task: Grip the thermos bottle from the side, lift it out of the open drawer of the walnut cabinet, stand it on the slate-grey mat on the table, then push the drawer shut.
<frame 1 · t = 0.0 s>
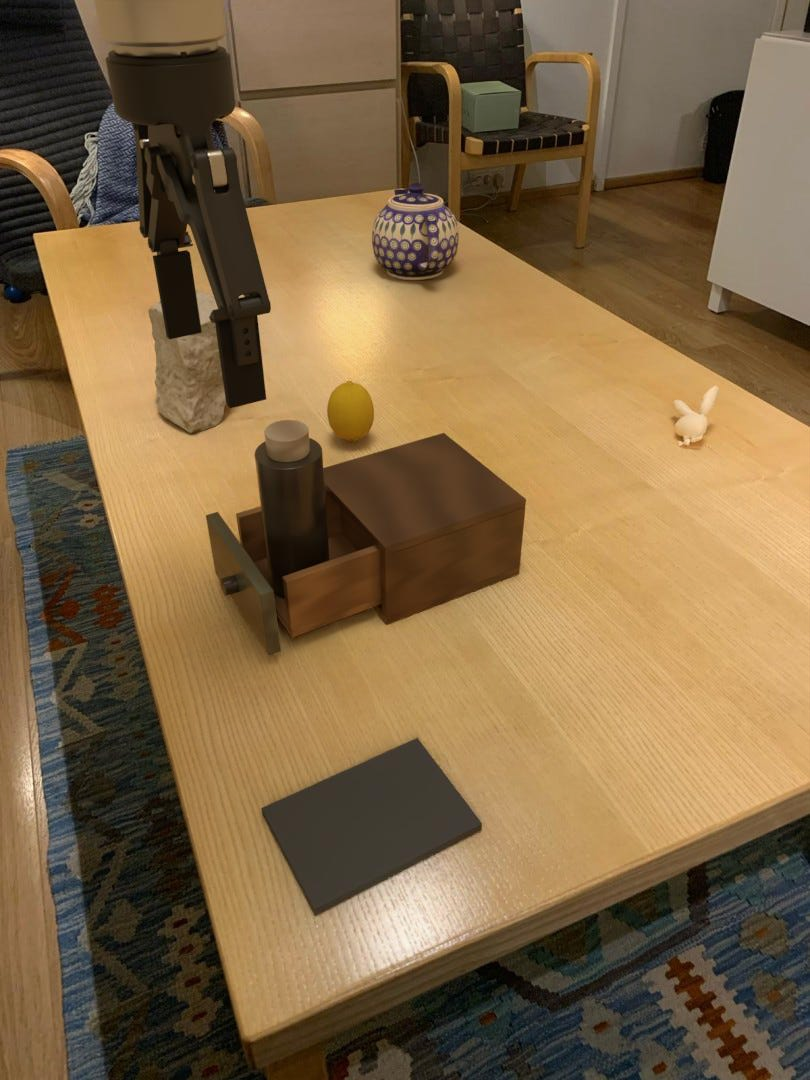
hand: (213, 366, 66), 25 cm above the table, tool pointing down, fingers open, 13 cm apart
trivet mat: (371, 822, 62), on the table
drawer: (299, 561, 80), point 4 cm above the table, slide at 10.0 cm, touching thermos bottle
lemon: (352, 443, 106), on the table
teapot: (415, 272, 155), on the table
rabbit figurine: (690, 434, 108), on the table
decorative stone: (195, 413, 113), on the table
thermos bottle: (300, 581, 81), point 2 cm above the table, touching drawer
cabinet: (416, 558, 87), on the table
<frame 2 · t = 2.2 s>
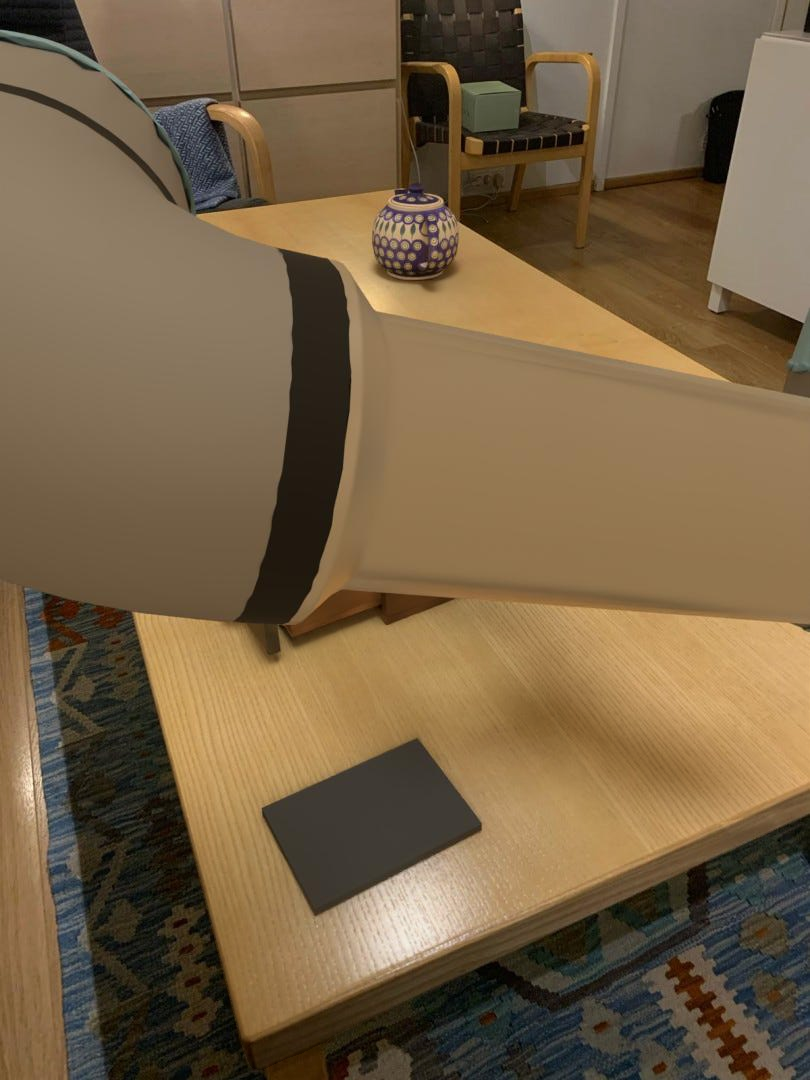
hand: (375, 416, 65), 22 cm above the table, tool horizontal, fingers open, 13 cm apart
nothing on the table moved.
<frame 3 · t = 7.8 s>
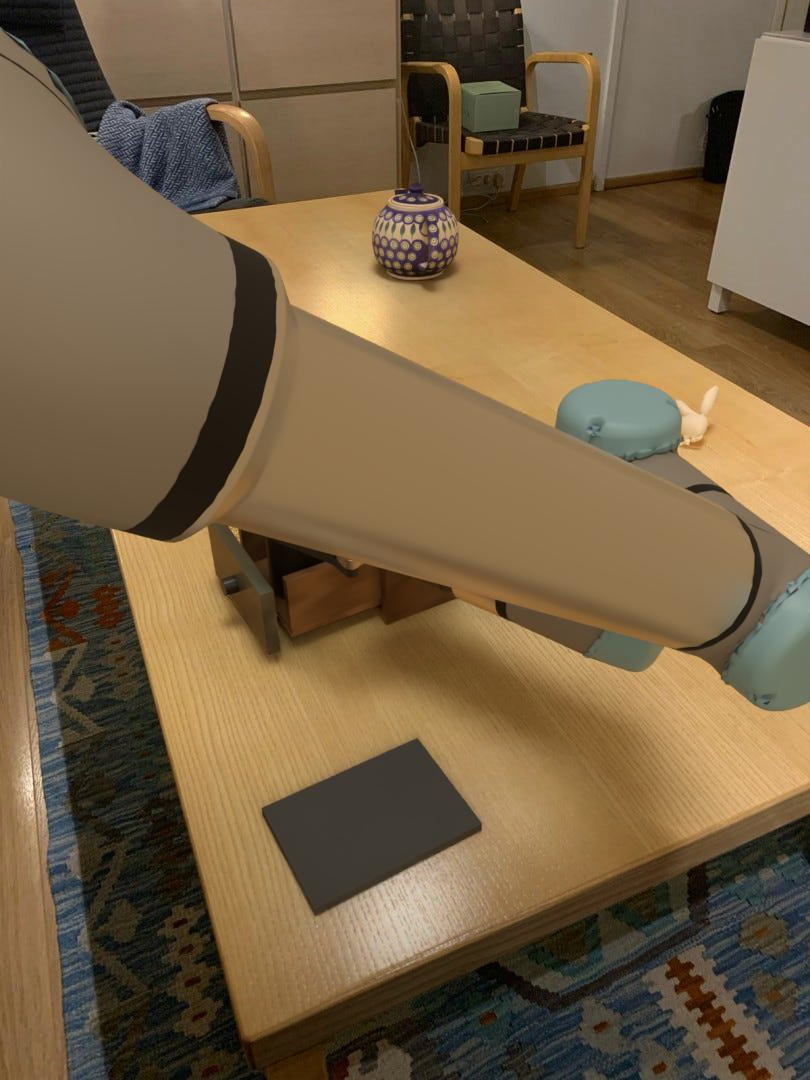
hand: (246, 459, 77), 14 cm above the table, tool horizontal, fingers closed on thermos bottle, 6 cm apart
thermos bottle: (300, 581, 81), point 2 cm above the table, touching drawer, gripper
everything else where it was.
when the fingers open (12 cm above the table, at t = 16.1 s): thermos bottle stays where it is, resting on trivet mat.
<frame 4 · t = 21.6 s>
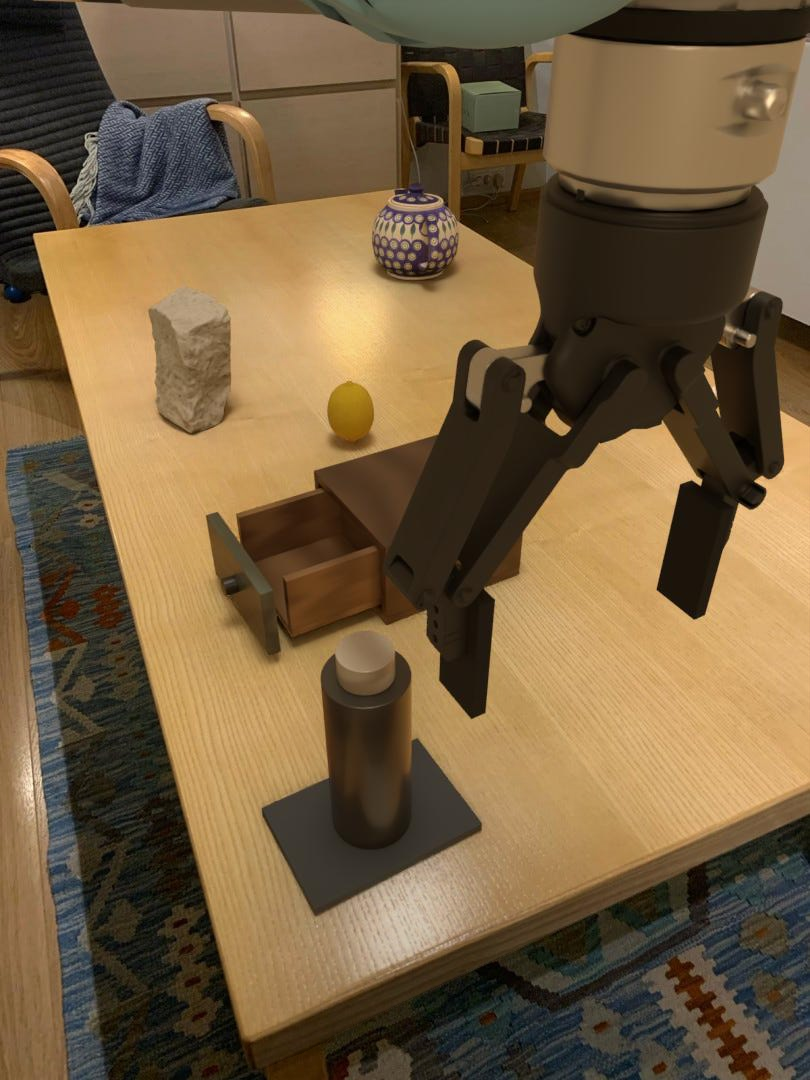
hand: (577, 647, 42), 24 cm above the table, tool pointing down, fingers open, 12 cm apart
drawer: (299, 561, 80), point 4 cm above the table, slide at 10.0 cm
thermos bottle: (371, 815, 62), point 1 cm above the table, touching trivet mat
everything else where it was.
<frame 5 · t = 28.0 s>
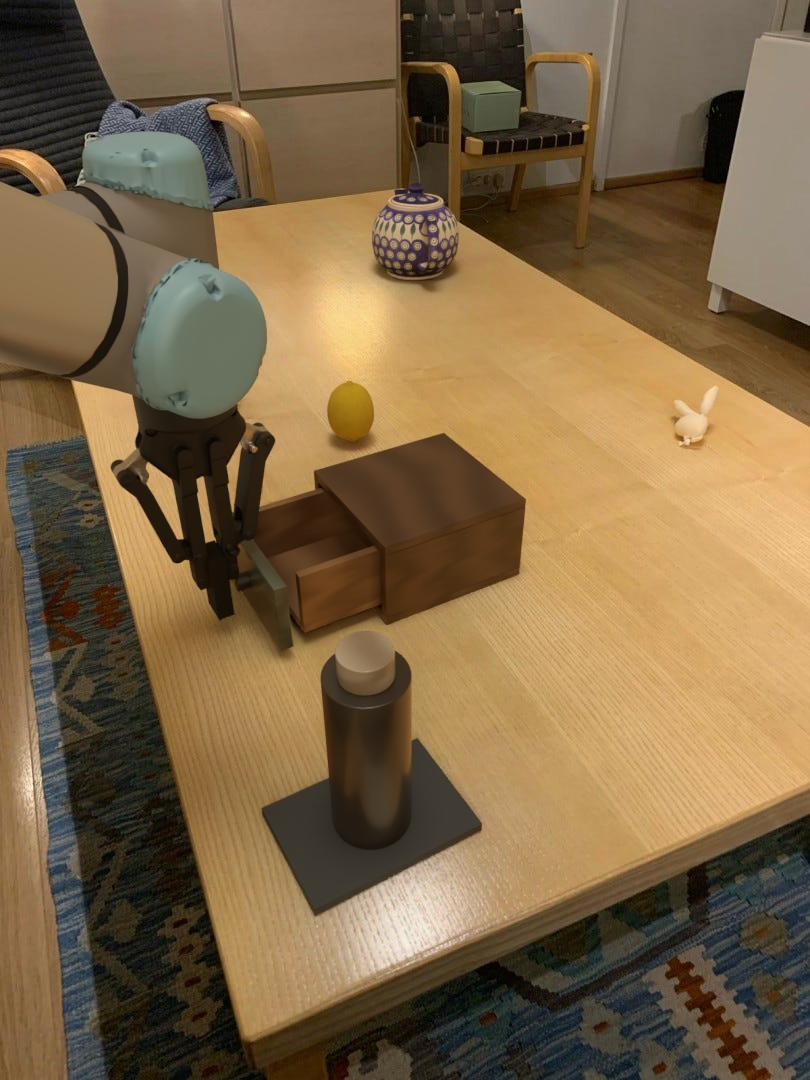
hand: (221, 608, 78), 2 cm above the table, tool pointing down, fingers closed
drawer: (311, 558, 80), point 4 cm above the table, slide at 8.8 cm, touching gripper
everything else where it was.
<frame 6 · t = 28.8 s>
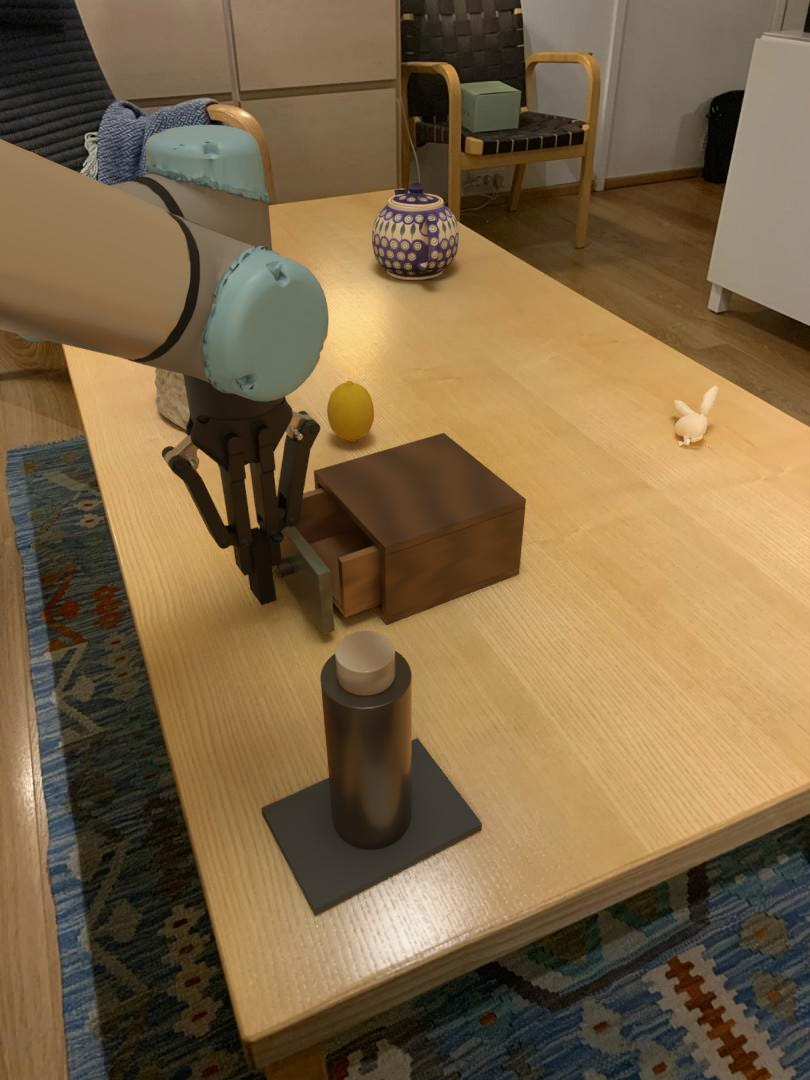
hand: (263, 594, 80), 2 cm above the table, tool pointing down, fingers closed
drawer: (350, 545, 82), point 4 cm above the table, slide at 4.8 cm, touching gripper
everything else where it was.
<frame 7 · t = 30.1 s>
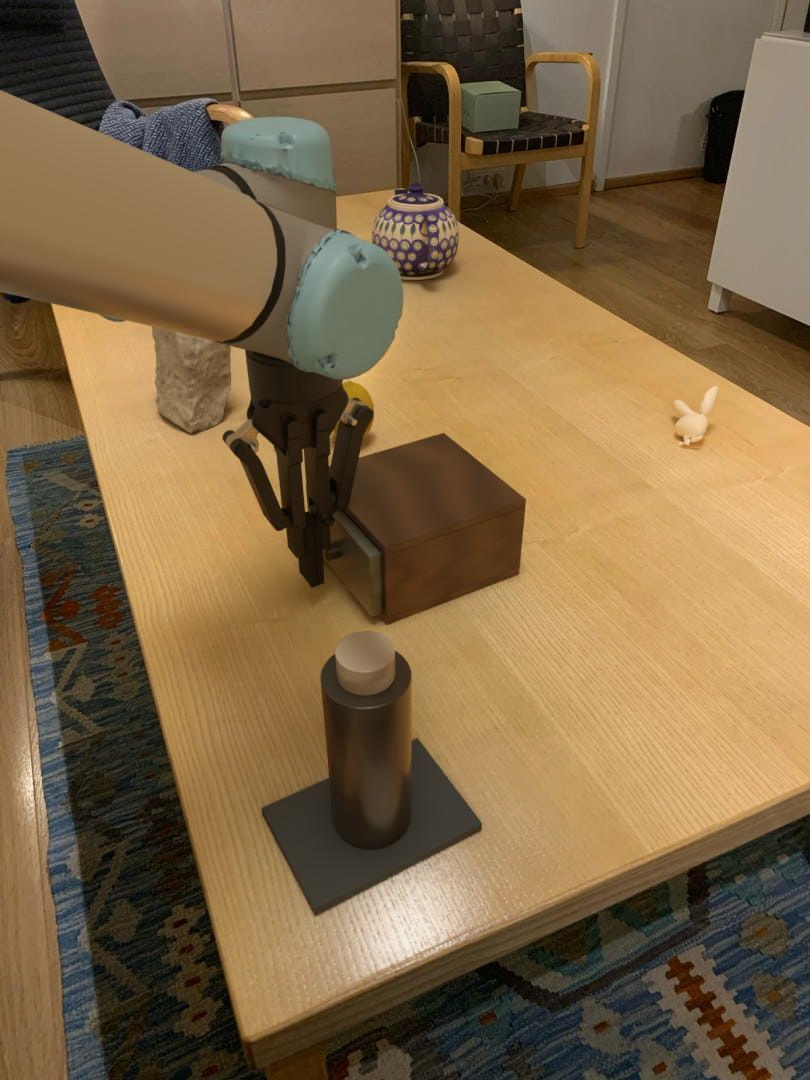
hand: (312, 577, 82), 2 cm above the table, tool pointing down, fingers closed
drawer: (395, 529, 84), point 4 cm above the table, slide at 0.0 cm, touching cabinet, gripper
everything else where it was.
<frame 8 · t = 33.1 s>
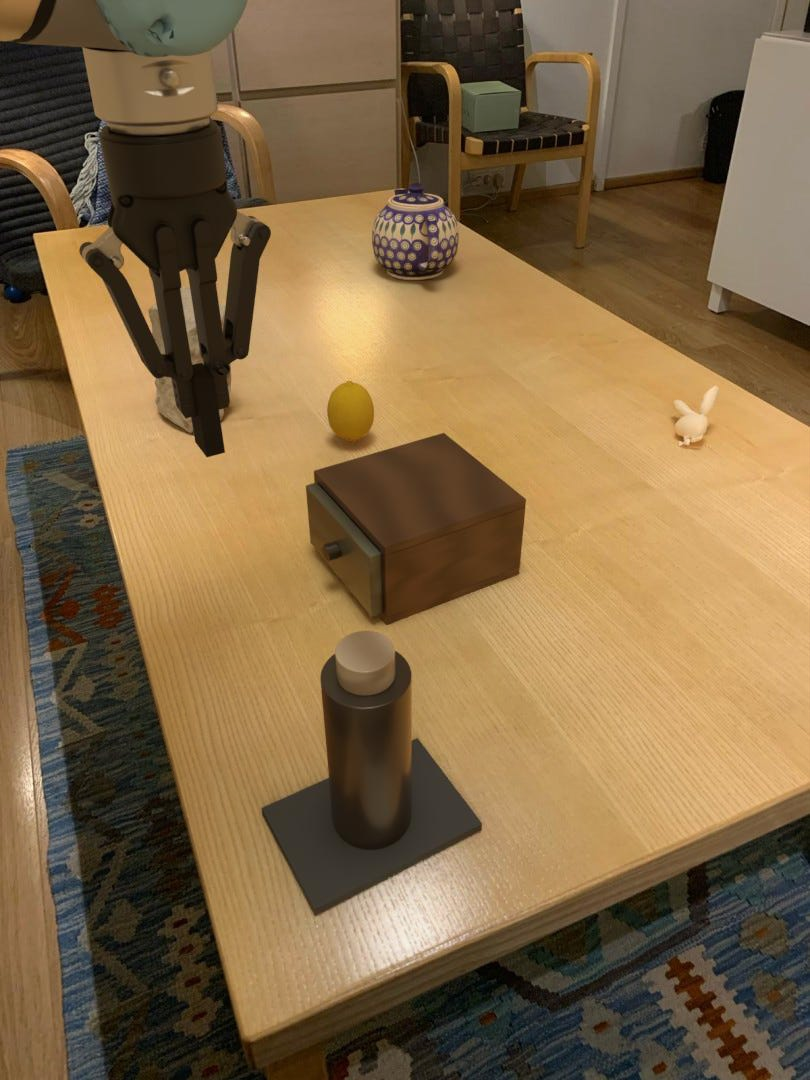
hand: (210, 447, 69), 18 cm above the table, tool pointing down, fingers closed
drawer: (395, 529, 84), point 4 cm above the table, slide at 0.0 cm
everything else where it was.
at the end: thermos bottle inside the target area on the trivet mat (0.1 cm from its centre), point 0.8 cm above the trivet mat's base; thermos bottle tilted 0°; drawer slide at 0.0 cm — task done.
